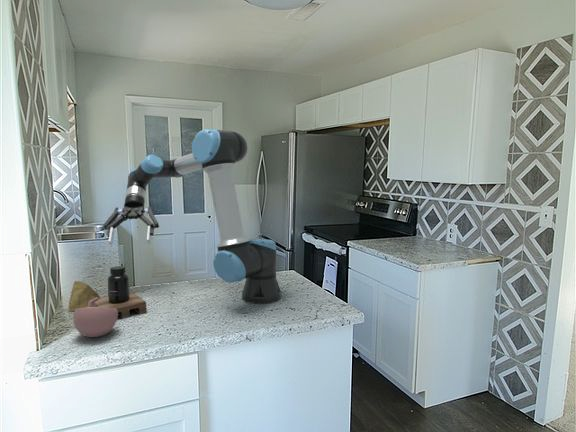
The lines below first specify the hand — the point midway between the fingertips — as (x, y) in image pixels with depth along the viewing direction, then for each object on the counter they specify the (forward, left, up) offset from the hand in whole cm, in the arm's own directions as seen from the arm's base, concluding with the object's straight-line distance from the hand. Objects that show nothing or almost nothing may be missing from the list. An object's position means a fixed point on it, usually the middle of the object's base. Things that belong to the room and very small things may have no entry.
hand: (129, 242), depth 144 cm
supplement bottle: (-10, +8, -19) cm, 22 cm away
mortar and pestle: (-25, +19, -23) cm, 39 cm away
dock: (-10, +8, -22) cm, 26 cm away
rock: (+3, +16, -23) cm, 28 cm away
